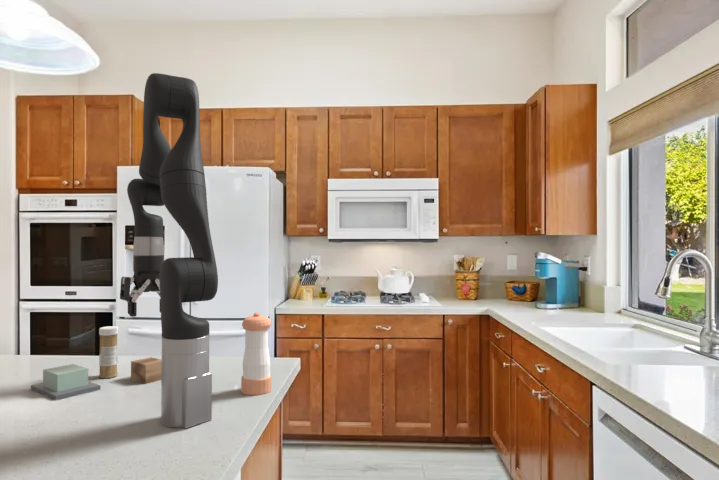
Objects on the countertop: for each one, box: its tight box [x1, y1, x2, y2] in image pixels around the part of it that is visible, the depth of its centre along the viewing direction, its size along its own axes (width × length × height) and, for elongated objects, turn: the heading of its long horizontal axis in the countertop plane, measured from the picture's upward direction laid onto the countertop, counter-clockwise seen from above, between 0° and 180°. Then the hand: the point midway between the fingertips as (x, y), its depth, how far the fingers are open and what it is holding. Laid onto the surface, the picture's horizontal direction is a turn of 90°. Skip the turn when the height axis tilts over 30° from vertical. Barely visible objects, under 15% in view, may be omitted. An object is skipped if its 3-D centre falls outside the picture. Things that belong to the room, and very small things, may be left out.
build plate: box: [30, 363, 101, 401], centre depth 118 cm, size 14×10×5 cm
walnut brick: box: [130, 357, 162, 385], centre depth 127 cm, size 7×6×5 cm
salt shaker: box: [240, 312, 273, 396], centre depth 118 cm, size 7×7×19 cm
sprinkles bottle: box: [98, 325, 119, 379], centre depth 130 cm, size 5×5×14 cm
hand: (148, 314), depth 128 cm, fingers open, 8 cm apart
